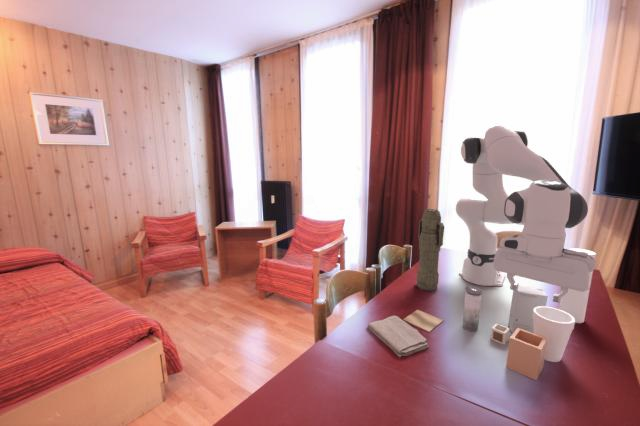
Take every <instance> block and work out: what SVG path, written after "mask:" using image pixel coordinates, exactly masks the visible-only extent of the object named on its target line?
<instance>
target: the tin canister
mask: <svg viewBox="0 0 640 426" xmlns="http://www.w3.org/2000/svg"><path fill="white" fill-rule="evenodd" d="M464 290H465V294H464V302H463V303H464V305H463V313H462V314H463V317H462V328H463V329H464V330H466V331H469V332H477V331H479V324H480V317H481V316H480V314H481V306H482V305H481V304H482V295H483V289H481V288H480V287H478V286H474V285H473V286H472V285H468V286H466V287H465V289H464Z"/></svg>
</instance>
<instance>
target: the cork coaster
mask: <svg viewBox="0 0 640 426" xmlns="http://www.w3.org/2000/svg"><path fill="white" fill-rule="evenodd" d="M402 320H403V321H405V322H406V323H408V324H409V325H413V327H414V326H415V327H417V328H419V329H421V330H424V331H425V332H428V333H430V332H431V331H433V330H434V329H436V327H438V326H439V325H440V324H441V323H443V322H444V319H442V318H439V317H436V316H434V315H432V314H430V313H427V312H425V311H422V310H419V309H416V310H414V311H413V312H412V313H410V314H409V315H407V316H406V317H405V318H403V319H402Z"/></svg>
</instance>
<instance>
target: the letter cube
mask: <svg viewBox="0 0 640 426" xmlns="http://www.w3.org/2000/svg"><path fill="white" fill-rule="evenodd" d="M510 332H511V330H510V327H507V326H504V325H502V324H500V323H497V322H496V323H495V324H494V325H493V326H492V327H491V331H490V337H489V338H490V340H492V341H493V342H496V343H498V344H501V345H503V346H505V345H506V343H507V342H509V340H510Z"/></svg>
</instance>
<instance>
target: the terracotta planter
mask: <svg viewBox="0 0 640 426" xmlns="http://www.w3.org/2000/svg"><path fill="white" fill-rule="evenodd" d="M547 339H548V338H545V337H542V336H539V335H537V334H534V333H531V332H528V331H526V330H523V329H520V328H517V329H516V330H515V332H514V333H511V336H509V340H508V348H507V349H508V350H507V356H506V364H505V367H506V368H509V370H510V369H511V370H513V371H514V372H517V373H519V374H521V375H523V376H526V377H528V378H530V379H532V380H535V381H538V379H539V376H540V374H541V373H542V370H544V363H545V360H544V358H545V352H546V345H547Z"/></svg>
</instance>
